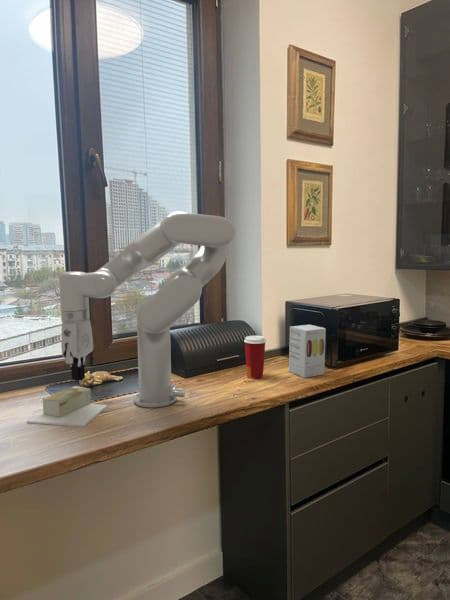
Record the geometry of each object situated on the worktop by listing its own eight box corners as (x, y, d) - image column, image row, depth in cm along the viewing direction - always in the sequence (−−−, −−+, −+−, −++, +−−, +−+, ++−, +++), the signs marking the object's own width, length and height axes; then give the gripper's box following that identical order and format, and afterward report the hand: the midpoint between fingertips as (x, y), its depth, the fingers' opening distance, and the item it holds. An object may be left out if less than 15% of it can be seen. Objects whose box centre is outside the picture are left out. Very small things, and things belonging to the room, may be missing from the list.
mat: (107, 406, 125) (107, 405, 125) (84, 426, 111) (84, 425, 111) (55, 403, 127) (55, 402, 127) (26, 422, 114) (26, 421, 114)
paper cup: (269, 375, 154) (270, 336, 152) (259, 381, 148) (259, 340, 146) (250, 372, 158) (250, 334, 156) (239, 377, 152) (239, 338, 150)
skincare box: (91, 388, 126) (60, 402, 115) (91, 402, 127) (60, 417, 116) (73, 385, 129) (41, 398, 118) (74, 399, 129) (42, 414, 118)
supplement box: (304, 378, 150) (305, 330, 148) (287, 371, 159) (288, 326, 156) (325, 374, 155) (326, 327, 153) (308, 368, 163) (309, 323, 161)
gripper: (74, 320, 114) (77, 388, 116) (99, 312, 128) (102, 372, 131) (48, 320, 115) (51, 387, 117) (76, 311, 130) (79, 371, 132)
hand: (78, 379), depth 124 cm, fingers closed
